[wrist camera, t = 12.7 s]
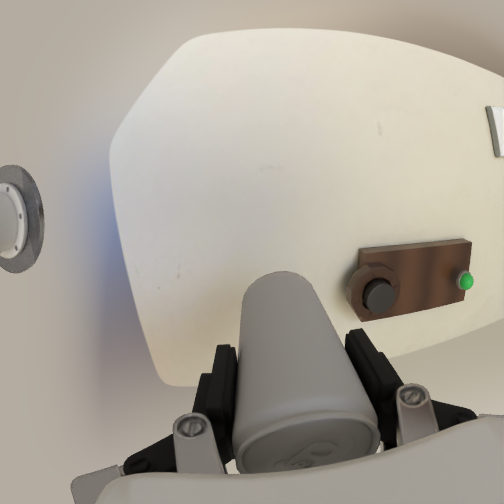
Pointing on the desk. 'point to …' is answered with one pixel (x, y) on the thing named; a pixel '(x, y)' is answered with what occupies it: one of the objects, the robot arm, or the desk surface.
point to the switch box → (411, 276)
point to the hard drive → (496, 128)
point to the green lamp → (464, 280)
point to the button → (378, 296)
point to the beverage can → (295, 384)
